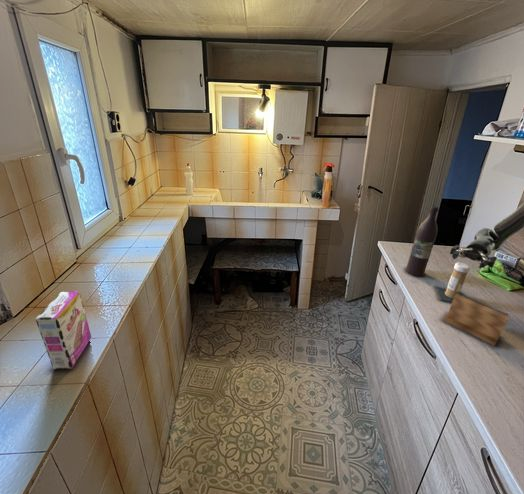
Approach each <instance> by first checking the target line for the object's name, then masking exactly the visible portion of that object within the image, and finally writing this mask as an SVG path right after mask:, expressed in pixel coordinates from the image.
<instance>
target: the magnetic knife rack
mask: <svg viewBox="0 0 524 494" xmlns="http://www.w3.org/2000/svg"><path fill="white" fill-rule="evenodd" d="M461 294H462V293H461ZM461 294H459V295H456V296H455V297H454V299H453V302H452V303H451V304H450V306H449V309H448V312H447V315H446V316H445V317H444V319H443V322H444V323H446V324H448V325H450V326H453V327H455V328H457V329H459V330H461V331H463V332H465V333H467V334H469V335H471V336H474V337H475V338H477V339H479V340H482V341H483V342H486V343H487V344H490V345H492V346H496V344H497V342H498V341H499V338H500V336H501V334H502V332H503V331H504V329H505V326H506V324H507V323H508V321H509V319H510V316H509V314H508V313H506V312H503V311H501V310H499V309H496V308H494V307H491V306H490V305H487V304H484V303H482V302H479V301H478V300H475V299H473V298H470V297H468V296H466V295H463V294H462V295H461Z"/></svg>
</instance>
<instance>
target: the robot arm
mask: <svg viewBox="0 0 524 494" xmlns="http://www.w3.org/2000/svg"><path fill="white" fill-rule="evenodd" d="M522 230H524V202H522V203H521V204H520V205H519V206H518V207H517V208H516V209H515V210H514V211H513V212H511V213H510V214H509V215H507V216H505V217H504V218H503V219H502V220H500V221H499V222H497V223H496V224H495V225H494V226H493V229H492V228H490V227H483V228H480V229H479V230H477V232H476V233H475V235H474V237H473V238H474V240H472V241H471V242H470V243H469V244H468V245H467V246H466V247H461V246H460V244H456V245H454V246H452V247H451V249H450V252H449V254H450V255H451V258H452V259H453V260H456V259H457V258H458V257H459V258H460V259H461V258H462V259H463V258H464V259H469V260H471V261H473V262H477V263H478V264H479V266H478V269H484V268H485V267H487V266H488V268H491V269H493V268H494V265H495V263H496V261H497V259H498V257H497V256H490V255H491V253H492V251H493V252H494V251H497V250H499V249H501V248H502V247H503V245H504V244H505V243H506V241H508V240H509V239H510V238H511V237H512V236H514V235H516V234H517V233H519V232H520V231H522Z"/></svg>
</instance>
